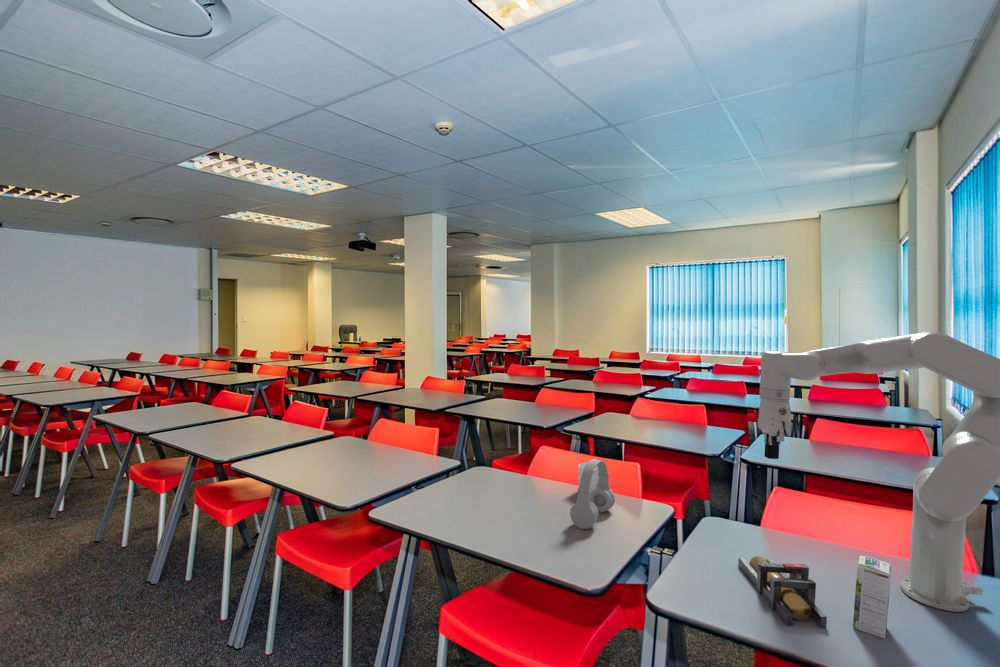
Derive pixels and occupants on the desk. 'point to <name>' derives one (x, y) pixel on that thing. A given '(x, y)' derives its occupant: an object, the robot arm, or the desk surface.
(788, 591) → the tan cylindrical rod
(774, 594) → the collar rig
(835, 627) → the desk surface
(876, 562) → the syrup box
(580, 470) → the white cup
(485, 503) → the desk surface
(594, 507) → the headphones
